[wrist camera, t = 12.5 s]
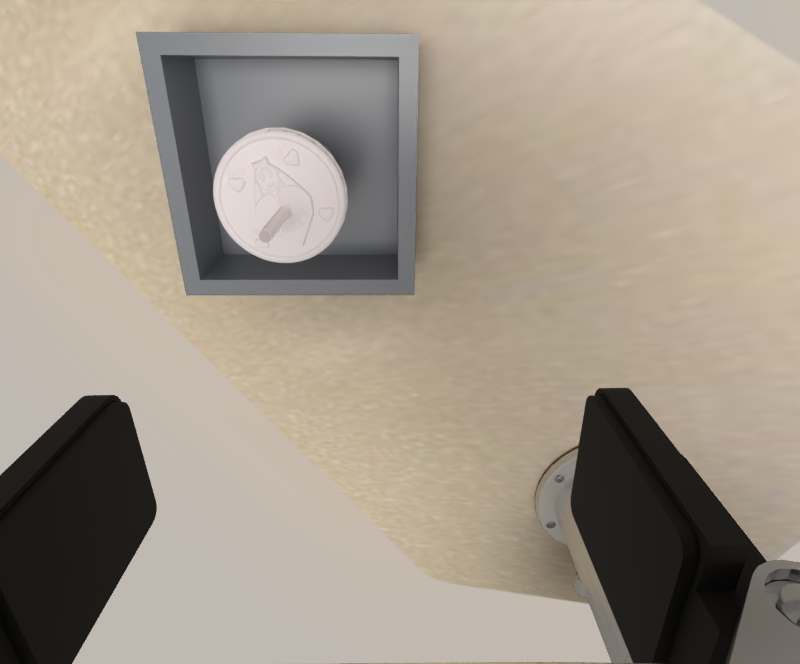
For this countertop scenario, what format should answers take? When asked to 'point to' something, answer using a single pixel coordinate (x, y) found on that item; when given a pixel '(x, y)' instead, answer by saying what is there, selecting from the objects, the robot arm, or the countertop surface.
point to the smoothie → (280, 195)
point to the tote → (302, 111)
